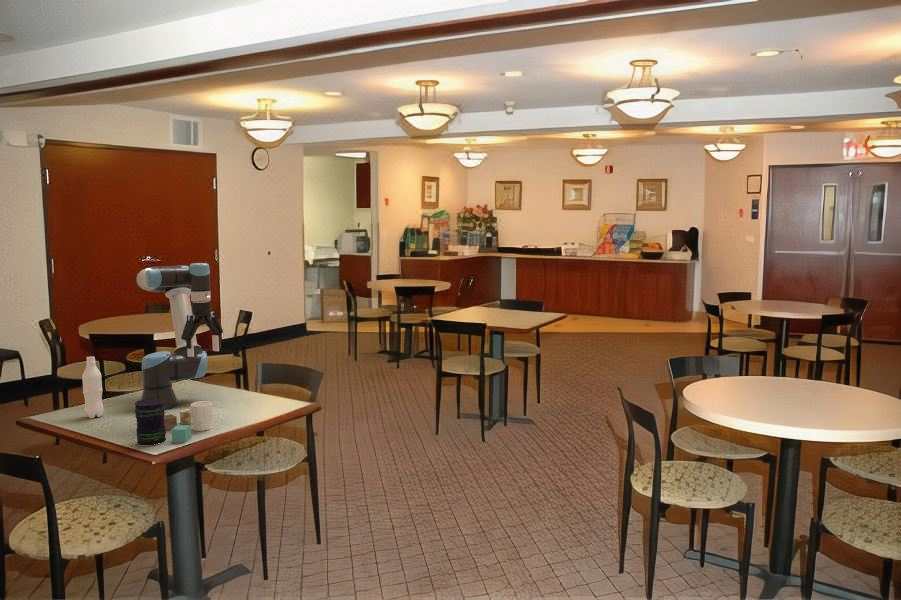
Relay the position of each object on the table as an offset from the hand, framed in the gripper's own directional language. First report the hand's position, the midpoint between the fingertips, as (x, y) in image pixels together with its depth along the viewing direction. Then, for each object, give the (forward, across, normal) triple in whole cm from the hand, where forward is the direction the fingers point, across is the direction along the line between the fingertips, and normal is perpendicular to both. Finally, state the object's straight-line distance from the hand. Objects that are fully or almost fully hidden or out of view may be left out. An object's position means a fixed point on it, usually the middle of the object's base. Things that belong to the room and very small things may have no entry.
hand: (203, 353), depth 285 cm
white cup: (+27, -12, -10) cm, 31 cm away
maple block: (+27, -8, +1) cm, 28 cm away
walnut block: (+27, -18, +2) cm, 32 cm away
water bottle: (+26, -18, +43) cm, 54 cm away
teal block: (+27, -26, -14) cm, 40 cm away
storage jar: (+27, -32, -5) cm, 42 cm away
